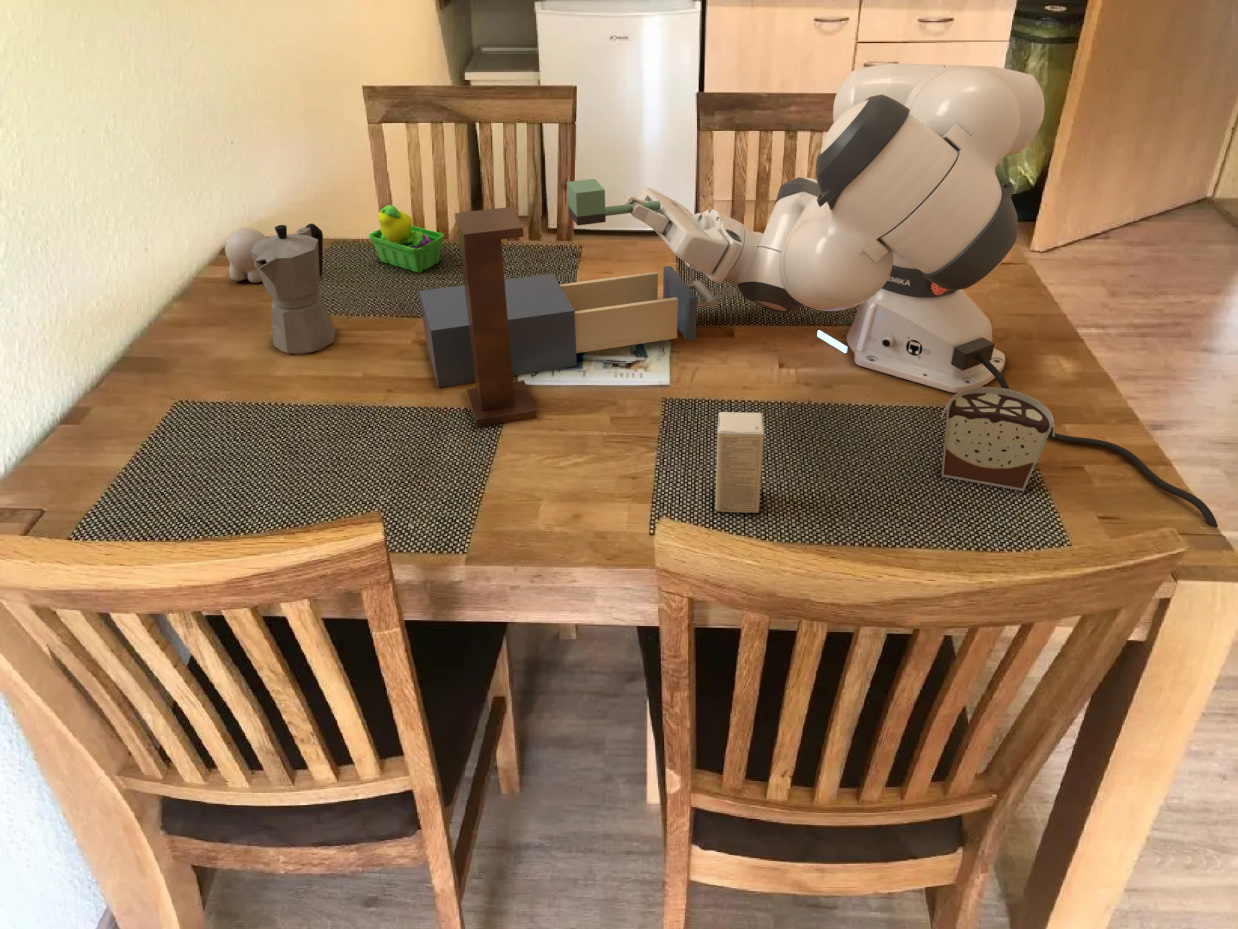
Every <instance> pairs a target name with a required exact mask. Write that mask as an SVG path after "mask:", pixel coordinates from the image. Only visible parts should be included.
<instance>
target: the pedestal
mask: <svg viewBox="0 0 1238 929" xmlns="http://www.w3.org/2000/svg"><path fill="white" fill-rule="evenodd" d="M454 221H455V225H456V226H457V229H458V240H459V247H460V248H459V249H460V257H461V258H460V259H461V267H462V274H463V275H462V276H463V285H464V286H465V295H466V304H467V313H468V322H469V331H470V341H471V350H472V359H473V368H474V377H475V382H474V384H475V387H472V388H466V390H465V391H466V392H465V393H466V399H467V401H468V404H469V407H470V412H471V414H472V416H473V420H474V424H475V427H476V428H481V427H486V426H492V425H499V424H506V423H512V422H517V421H523V420H529V419H535V418H538V411H537V408H536V406H535V403H534V400H533V399H532V396H531V394H530V391H529V389H528V387H527V384H526V382H525V380H524V379H523V380H517V381H514V378H513V377H514V376H512V364H511V352H510V340H509V328H508V316H507V304H506V292H505V280H506V279H505V270H504V256H503V247H502V246H503V245H502V240H509V239H517V238H524V237H525V234H524V226H523V224H522V222H521V221H520V219H519V218H518V216H517V214H516V212H515V211H514V209H513V207H512V206H507V207H498V208H489V209H480V210H472V211H471V210H470V211H461V212H454Z"/></svg>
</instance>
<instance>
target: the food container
mask: <svg viewBox="0 0 1238 929" xmlns="http://www.w3.org/2000/svg"><path fill="white" fill-rule="evenodd" d="M1009 389H1010V388H1009ZM1009 389H1004V388H1001V387H995V386H982V387H977V388H970V389H966V390H963V391H960V392H959V393H954V395H953V396H952V397H951V398H950V400H948V402H947V403H946V404H945V407H944V409H943V411H942V412H941V415H940V419H943V418H944V416H945V414H946V421H945V430H944V444H943V455H942V465H941V477H942V478H948V479H954V480H958V481H964V482H969V483H975V484H981V485H986V486H992V487H997V488H1004V489H1009V490H1015V491H1020V492H1025V489H1026V488H1027V485H1028V483H1029V480H1030V479H1031V476H1032V475H1033V471H1034V469H1035V467H1036V466H1037V463H1038V460H1039V458H1040V456H1041V453H1042V451H1043V449H1044V447H1045V444H1046V441H1047V439H1048V438H1047V437H1048V435H1049V433H1050V431H1051V432H1052V435H1053V437H1055V433H1056V425H1055V421H1054V420H1055V419H1054V416H1053V414H1052V412H1051V411H1050V409H1049V408H1048V407H1047V406H1046V405H1045V404H1044V403H1042V402H1041V401H1039V400H1037V399H1036V398H1034V397H1032V396H1030V395H1028V394H1025V393H1022V392H1020V391H1017V390H1012V389H1010V390H1009Z"/></svg>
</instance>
